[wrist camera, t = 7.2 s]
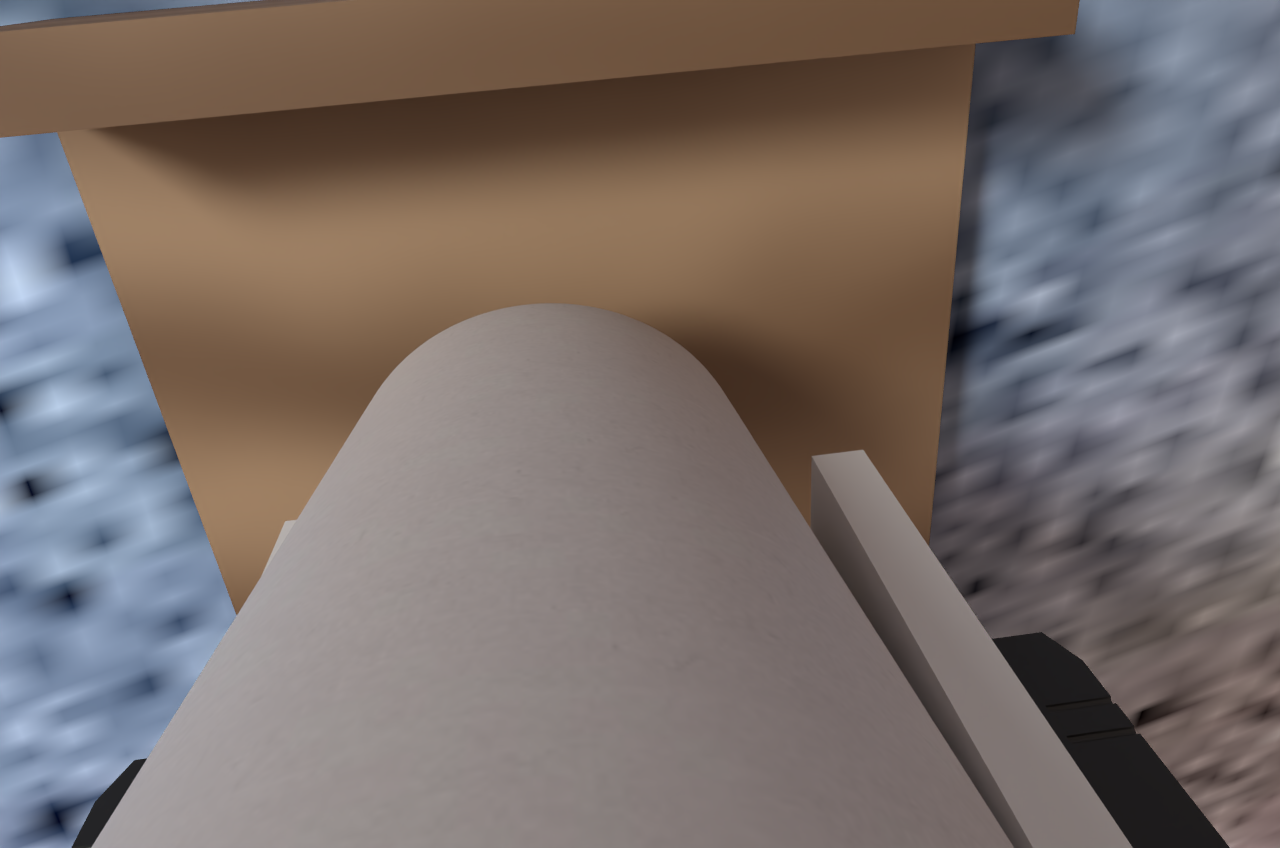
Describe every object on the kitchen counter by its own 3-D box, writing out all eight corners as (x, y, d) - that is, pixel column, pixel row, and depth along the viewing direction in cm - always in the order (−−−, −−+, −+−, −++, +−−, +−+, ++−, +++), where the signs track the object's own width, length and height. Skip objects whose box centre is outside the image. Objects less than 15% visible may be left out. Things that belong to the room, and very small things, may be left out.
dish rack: (54, 19, 14) (-1311, 205, 4) (953, -61, 15) (1936, -95, 5) (389, 970, 27) (297, 1652, 16) (879, 893, 28) (1102, 1490, 17)
